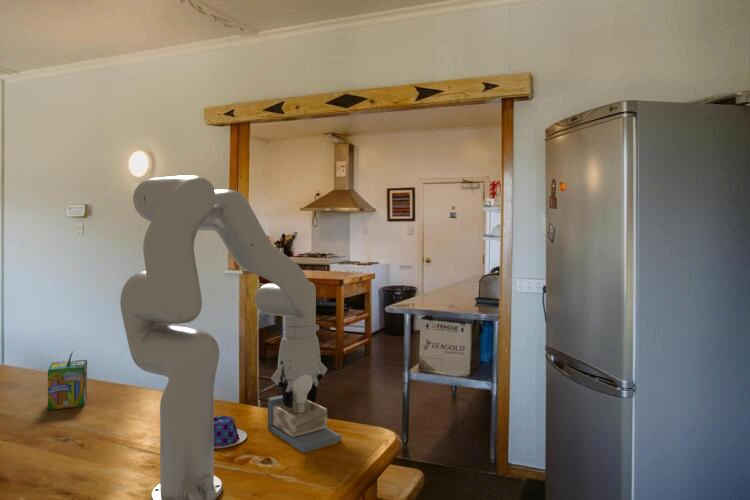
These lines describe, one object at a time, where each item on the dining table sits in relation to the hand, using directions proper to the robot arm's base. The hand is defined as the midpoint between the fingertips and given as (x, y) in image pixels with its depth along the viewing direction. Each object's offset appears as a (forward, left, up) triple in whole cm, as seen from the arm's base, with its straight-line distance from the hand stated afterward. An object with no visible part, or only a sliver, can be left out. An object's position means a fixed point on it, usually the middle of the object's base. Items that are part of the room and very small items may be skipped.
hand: (299, 403), depth 127 cm
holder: (0, 0, -6) cm, 6 cm away
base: (-2, 0, -8) cm, 8 cm away
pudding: (+8, +17, -8) cm, 20 cm away
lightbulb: (0, 0, -3) cm, 3 cm away
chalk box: (+59, +42, -8) cm, 73 cm away
